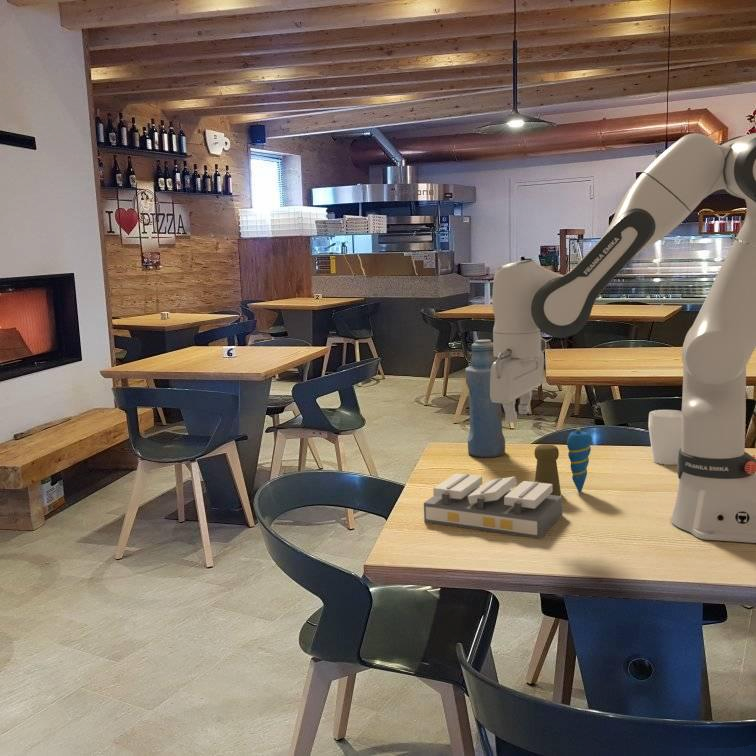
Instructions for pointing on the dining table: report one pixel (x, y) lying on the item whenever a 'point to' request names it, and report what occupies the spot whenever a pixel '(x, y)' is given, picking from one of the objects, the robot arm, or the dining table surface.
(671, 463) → the cup
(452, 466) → the dining table surface
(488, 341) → the bottle
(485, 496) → the rocker
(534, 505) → the panel
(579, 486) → the ornament
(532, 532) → the switch unit
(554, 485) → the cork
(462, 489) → the grooved switch paddle
